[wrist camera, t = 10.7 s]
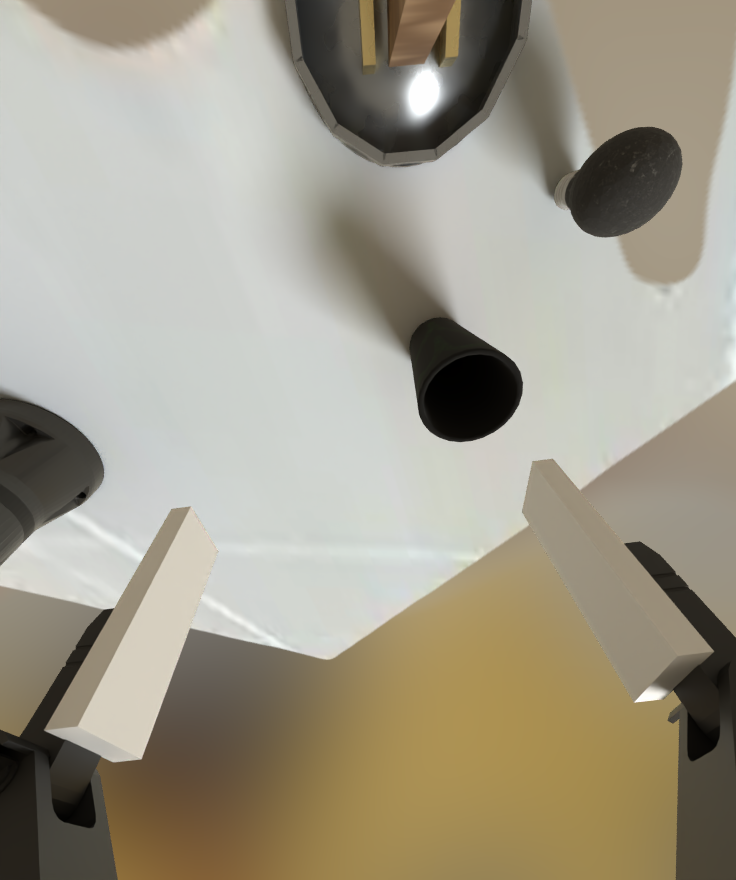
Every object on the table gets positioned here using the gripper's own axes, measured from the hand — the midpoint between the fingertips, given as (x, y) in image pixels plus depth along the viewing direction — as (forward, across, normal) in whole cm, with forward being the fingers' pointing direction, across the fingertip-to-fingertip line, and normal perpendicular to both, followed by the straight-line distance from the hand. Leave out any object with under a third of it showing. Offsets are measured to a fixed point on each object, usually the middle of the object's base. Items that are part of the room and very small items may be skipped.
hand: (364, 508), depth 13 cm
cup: (+24, +8, -3) cm, 26 cm away
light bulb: (+24, +19, +9) cm, 32 cm away
